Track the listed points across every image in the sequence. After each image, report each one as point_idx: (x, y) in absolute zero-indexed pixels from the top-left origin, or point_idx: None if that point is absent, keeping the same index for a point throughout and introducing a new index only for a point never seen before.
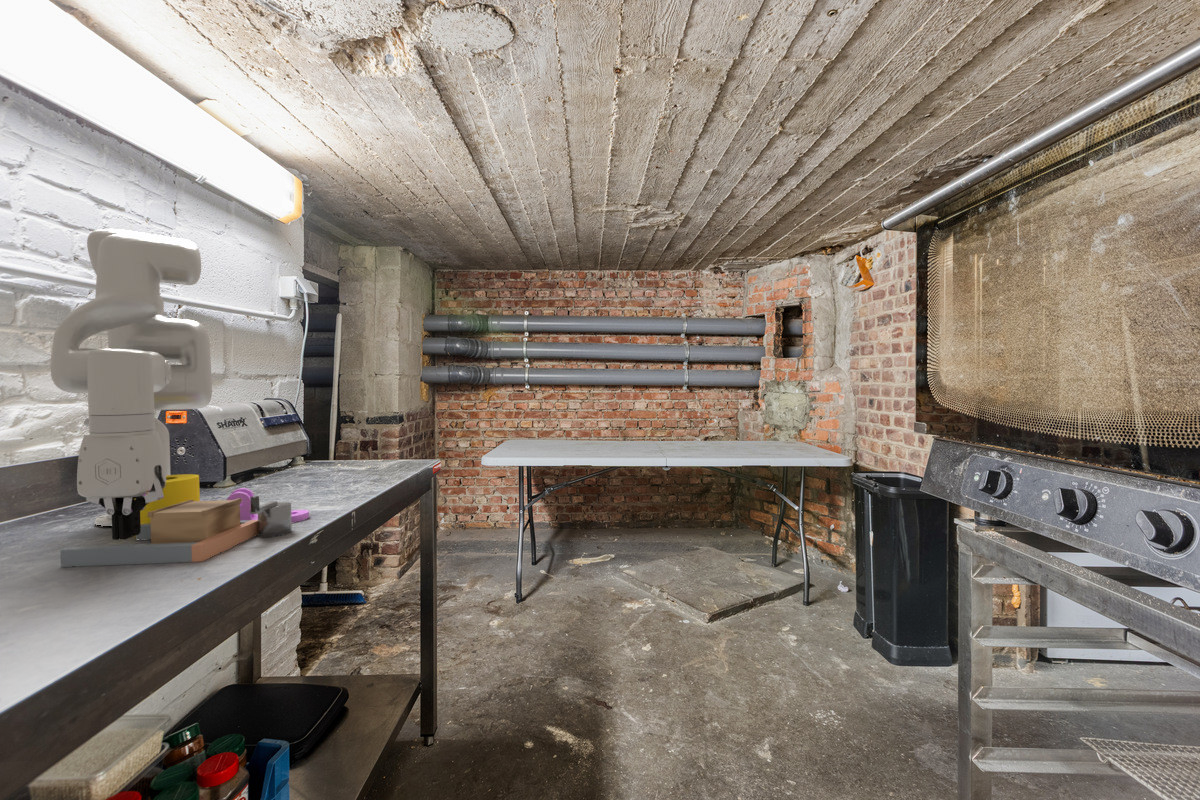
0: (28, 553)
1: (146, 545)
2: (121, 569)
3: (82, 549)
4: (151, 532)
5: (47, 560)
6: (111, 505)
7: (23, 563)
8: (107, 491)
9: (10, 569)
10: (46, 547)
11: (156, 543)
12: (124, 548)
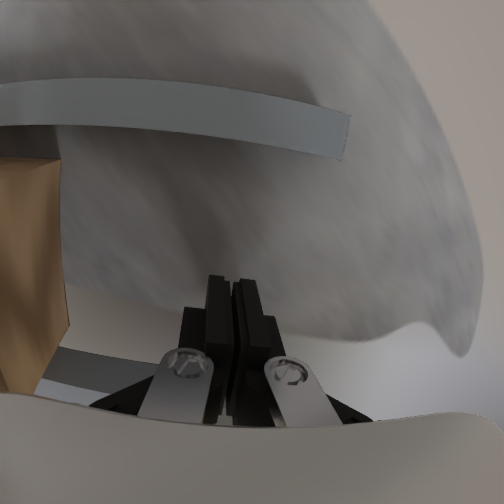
0: (468, 303)
1: (8, 102)
2: (80, 37)
3: (256, 93)
4: (6, 179)
5: (410, 222)
6: (288, 402)
7: (451, 211)
8: (293, 470)
9: (452, 157)
10: (451, 342)
11: (19, 168)
12: (72, 79)
